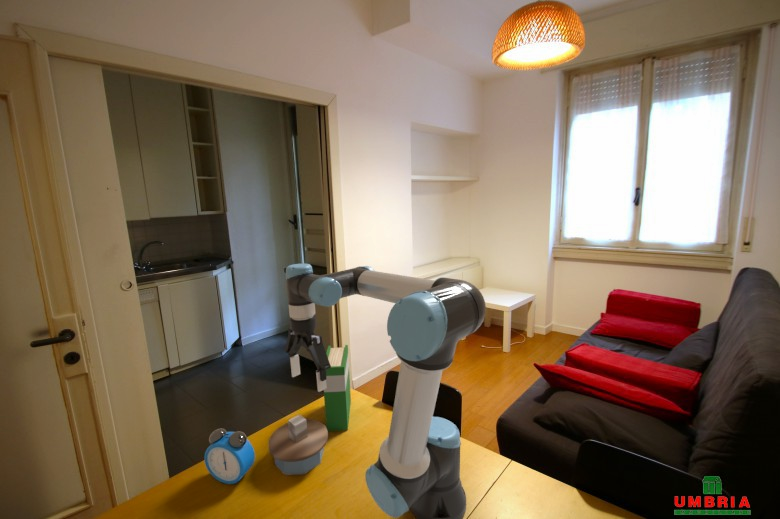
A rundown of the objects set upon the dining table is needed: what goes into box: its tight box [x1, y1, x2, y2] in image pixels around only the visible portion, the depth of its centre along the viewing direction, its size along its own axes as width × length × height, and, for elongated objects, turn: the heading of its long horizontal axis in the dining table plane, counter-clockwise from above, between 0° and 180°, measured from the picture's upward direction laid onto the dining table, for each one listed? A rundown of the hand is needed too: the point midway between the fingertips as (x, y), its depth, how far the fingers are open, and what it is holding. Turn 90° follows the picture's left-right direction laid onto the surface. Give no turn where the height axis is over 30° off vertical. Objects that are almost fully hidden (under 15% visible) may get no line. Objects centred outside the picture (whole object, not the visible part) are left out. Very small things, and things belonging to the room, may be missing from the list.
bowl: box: [273, 447, 325, 476], centre depth 114 cm, size 14×14×6 cm
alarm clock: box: [203, 427, 256, 486], centre depth 106 cm, size 13×6×15 cm, turn 75°
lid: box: [268, 414, 329, 462], centre depth 113 cm, size 18×18×7 cm
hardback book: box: [323, 344, 352, 432], centre depth 134 cm, size 18×7×24 cm, turn 2°
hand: (308, 382), depth 111 cm, fingers open, 13 cm apart
